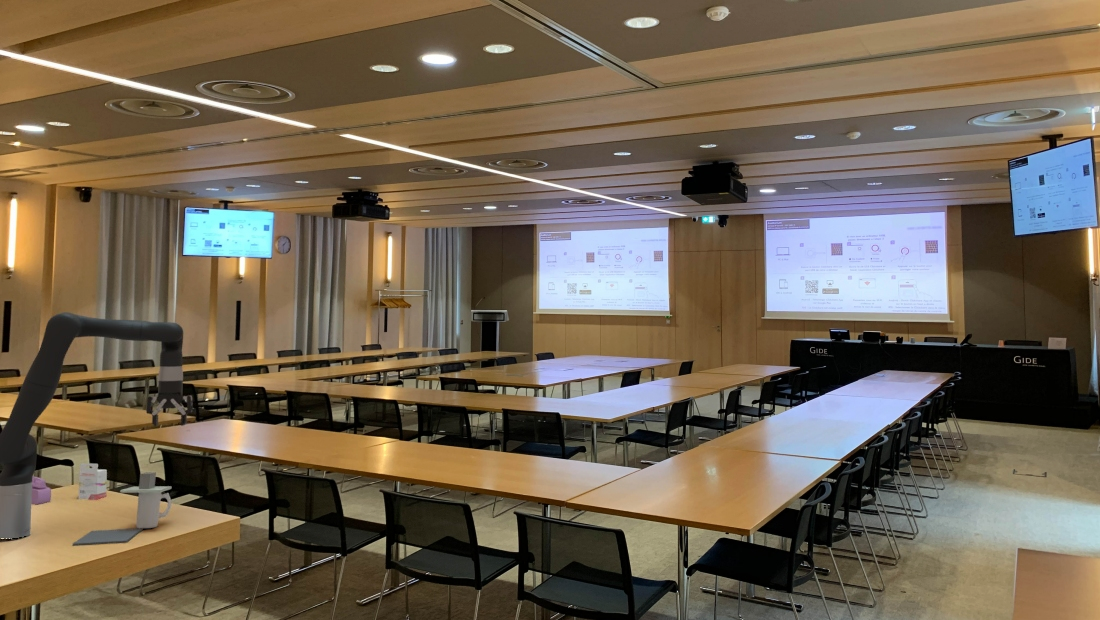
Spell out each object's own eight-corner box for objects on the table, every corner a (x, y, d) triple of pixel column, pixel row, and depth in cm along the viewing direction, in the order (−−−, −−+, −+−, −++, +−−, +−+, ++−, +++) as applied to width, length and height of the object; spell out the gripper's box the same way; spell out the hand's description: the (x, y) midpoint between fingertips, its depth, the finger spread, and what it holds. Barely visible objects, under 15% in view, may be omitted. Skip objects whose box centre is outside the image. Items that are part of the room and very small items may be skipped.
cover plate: (120, 492, 229) (122, 474, 230) (133, 488, 241) (135, 471, 241) (160, 492, 232) (162, 474, 232) (171, 488, 243) (173, 471, 244)
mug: (134, 528, 231) (138, 491, 233) (134, 526, 237) (138, 489, 239) (169, 527, 236) (173, 490, 238) (168, 524, 242) (172, 488, 244)
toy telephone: (52, 502, 272) (53, 476, 273) (35, 506, 266) (36, 479, 267) (24, 498, 279) (25, 473, 279) (6, 502, 273) (7, 476, 274)
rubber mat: (72, 545, 215) (72, 543, 215) (91, 532, 230) (92, 530, 230) (126, 542, 219) (126, 540, 219) (142, 529, 233) (142, 528, 233)
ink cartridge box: (106, 499, 278) (108, 461, 279) (96, 502, 273) (98, 463, 274) (88, 498, 279) (89, 461, 280) (77, 501, 274) (78, 463, 275)
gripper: (144, 380, 241) (143, 427, 241) (190, 379, 245) (188, 426, 244) (151, 379, 249) (150, 425, 248) (195, 378, 252) (194, 424, 251)
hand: (169, 425), depth 246 cm, fingers open, 8 cm apart
